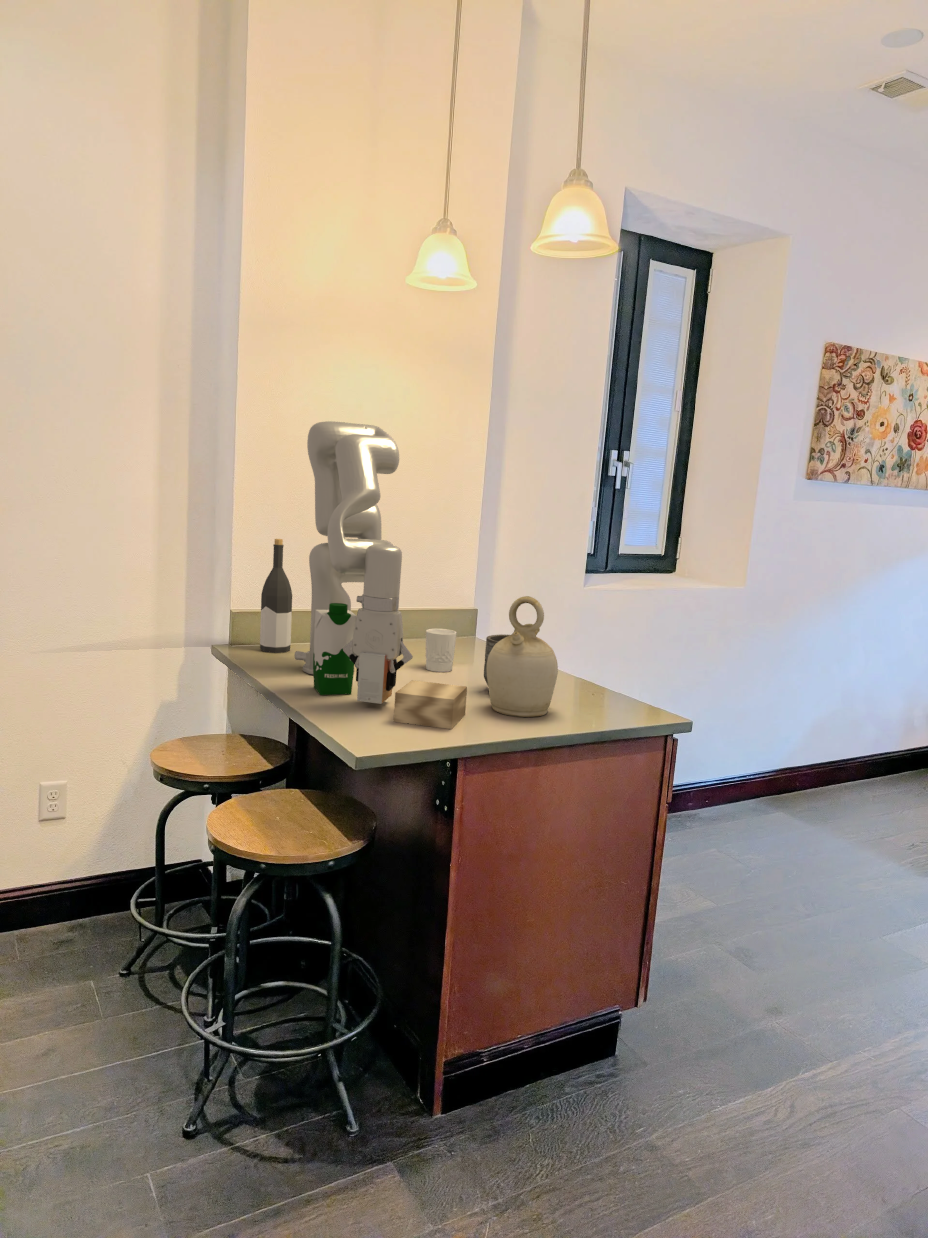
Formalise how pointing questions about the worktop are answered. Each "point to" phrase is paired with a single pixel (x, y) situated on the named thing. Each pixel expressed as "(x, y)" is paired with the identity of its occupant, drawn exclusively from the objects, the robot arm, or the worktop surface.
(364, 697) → the small box
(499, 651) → the jug
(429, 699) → the beech block
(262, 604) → the wine bottle
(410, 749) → the worktop surface
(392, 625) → the robot arm
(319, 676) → the milk carton
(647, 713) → the worktop surface
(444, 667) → the white cup
